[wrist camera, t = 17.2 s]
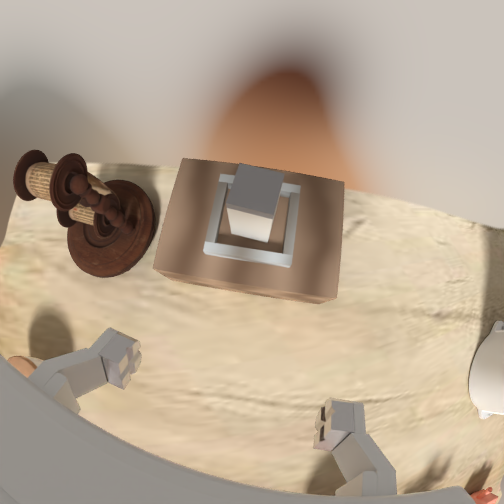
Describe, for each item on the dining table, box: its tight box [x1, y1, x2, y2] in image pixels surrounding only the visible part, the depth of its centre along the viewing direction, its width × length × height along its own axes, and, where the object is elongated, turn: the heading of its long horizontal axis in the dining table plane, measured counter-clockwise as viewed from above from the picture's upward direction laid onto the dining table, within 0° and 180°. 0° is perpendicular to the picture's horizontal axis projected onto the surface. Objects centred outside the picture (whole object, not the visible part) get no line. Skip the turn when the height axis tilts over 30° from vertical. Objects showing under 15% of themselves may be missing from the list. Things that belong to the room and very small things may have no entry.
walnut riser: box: [153, 158, 344, 304], centre depth 34 cm, size 20×14×10 cm
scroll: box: [13, 150, 155, 278], centre depth 29 cm, size 15×15×20 cm
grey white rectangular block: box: [226, 163, 284, 243], centre depth 27 cm, size 4×4×8 cm
